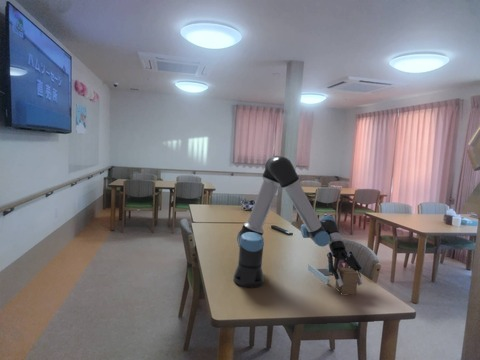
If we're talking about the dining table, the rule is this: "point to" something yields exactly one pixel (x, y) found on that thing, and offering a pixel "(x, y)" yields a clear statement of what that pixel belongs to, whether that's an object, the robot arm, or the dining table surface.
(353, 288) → the walnut block
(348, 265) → the video game controller
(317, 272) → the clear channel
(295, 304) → the dining table surface
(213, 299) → the dining table surface
